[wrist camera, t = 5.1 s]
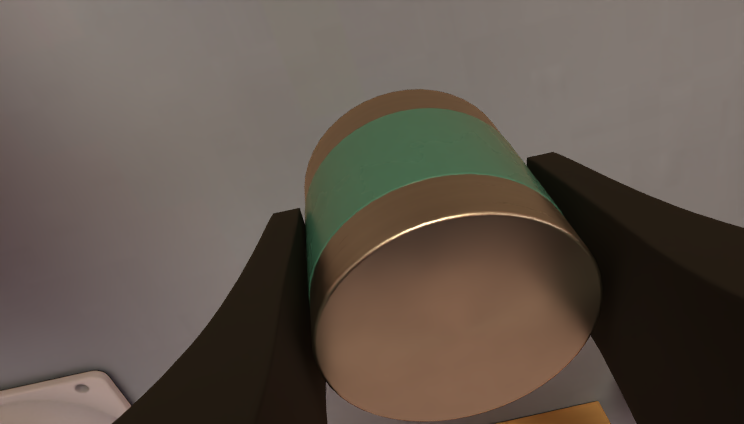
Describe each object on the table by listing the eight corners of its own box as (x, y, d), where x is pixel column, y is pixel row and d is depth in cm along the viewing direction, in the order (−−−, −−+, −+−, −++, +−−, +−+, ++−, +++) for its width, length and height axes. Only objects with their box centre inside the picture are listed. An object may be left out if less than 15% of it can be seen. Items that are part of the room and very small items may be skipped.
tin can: (329, 282, 15) (345, 446, 11) (278, 114, 12) (272, 255, 8) (508, 242, 15) (593, 390, 11) (504, 65, 12) (621, 177, 8)
